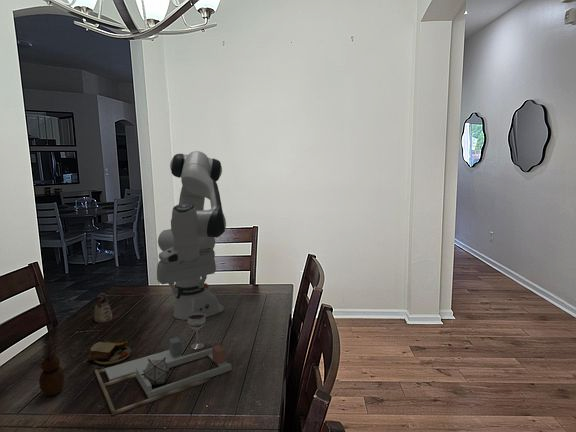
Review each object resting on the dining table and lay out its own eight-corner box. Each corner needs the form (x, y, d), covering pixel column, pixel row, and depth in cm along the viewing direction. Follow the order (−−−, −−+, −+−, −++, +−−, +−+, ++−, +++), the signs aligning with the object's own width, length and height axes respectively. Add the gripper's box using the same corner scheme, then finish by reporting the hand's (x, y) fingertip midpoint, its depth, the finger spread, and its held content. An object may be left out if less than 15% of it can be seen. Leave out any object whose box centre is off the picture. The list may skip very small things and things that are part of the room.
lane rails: (180, 348, 144) (180, 345, 144) (209, 380, 123) (209, 377, 123) (95, 373, 127) (94, 369, 127) (112, 415, 107) (112, 411, 106)
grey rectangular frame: (214, 352, 141) (213, 339, 140) (232, 369, 129) (232, 355, 128) (136, 376, 125) (135, 362, 124) (149, 399, 113) (148, 383, 113)
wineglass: (210, 343, 148) (209, 313, 146) (200, 351, 142) (199, 320, 140) (194, 340, 150) (193, 311, 148) (184, 348, 144) (183, 318, 142)
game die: (159, 398, 120) (155, 385, 113) (138, 384, 123) (132, 371, 115) (178, 373, 126) (175, 359, 119) (157, 360, 128) (153, 346, 121)
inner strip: (176, 350, 142) (175, 335, 141) (183, 359, 136) (182, 343, 135) (105, 371, 128) (103, 354, 127) (110, 382, 122) (108, 364, 121)
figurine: (115, 316, 173) (113, 290, 171) (106, 323, 166) (104, 296, 164) (100, 315, 174) (98, 290, 172) (91, 322, 167) (88, 295, 165)
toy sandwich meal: (120, 367, 132) (119, 354, 131) (82, 365, 133) (81, 352, 132) (137, 349, 144) (136, 337, 143) (102, 348, 145) (101, 336, 144)
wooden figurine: (49, 386, 120) (44, 340, 118) (68, 385, 121) (64, 340, 119) (37, 399, 114) (32, 351, 111) (57, 398, 114) (53, 350, 112)
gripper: (210, 245, 141) (211, 281, 143) (153, 254, 129) (156, 294, 131) (218, 249, 136) (219, 286, 138) (160, 259, 124) (162, 300, 126)
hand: (188, 290), depth 135 cm, fingers open, 8 cm apart
